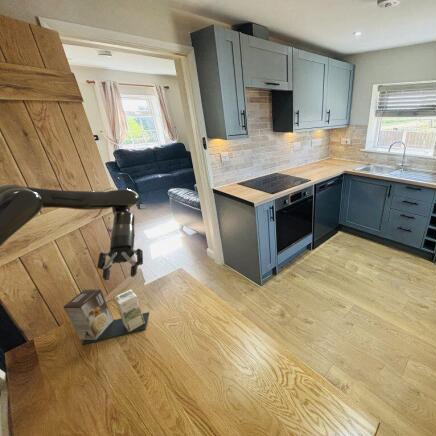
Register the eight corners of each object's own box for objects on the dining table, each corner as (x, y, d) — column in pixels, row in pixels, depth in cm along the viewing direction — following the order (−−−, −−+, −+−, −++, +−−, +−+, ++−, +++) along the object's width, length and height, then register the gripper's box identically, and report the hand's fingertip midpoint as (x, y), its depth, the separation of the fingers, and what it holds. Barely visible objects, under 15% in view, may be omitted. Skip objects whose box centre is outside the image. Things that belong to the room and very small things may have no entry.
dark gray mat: (82, 345, 85) (81, 344, 85) (91, 326, 93) (91, 325, 93) (145, 329, 92) (145, 328, 92) (149, 313, 100) (148, 312, 99)
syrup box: (139, 316, 97) (130, 288, 91) (145, 324, 94) (136, 295, 88) (123, 325, 93) (113, 296, 87) (129, 333, 90) (118, 303, 84)
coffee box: (98, 320, 95) (84, 288, 89) (113, 320, 95) (101, 288, 88) (78, 340, 87) (62, 306, 80) (96, 340, 87) (81, 307, 80)
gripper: (96, 236, 89) (91, 279, 83) (139, 232, 92) (137, 273, 87) (106, 241, 96) (102, 282, 90) (146, 238, 99) (144, 276, 94)
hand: (119, 278), depth 88 cm, fingers open, 8 cm apart
